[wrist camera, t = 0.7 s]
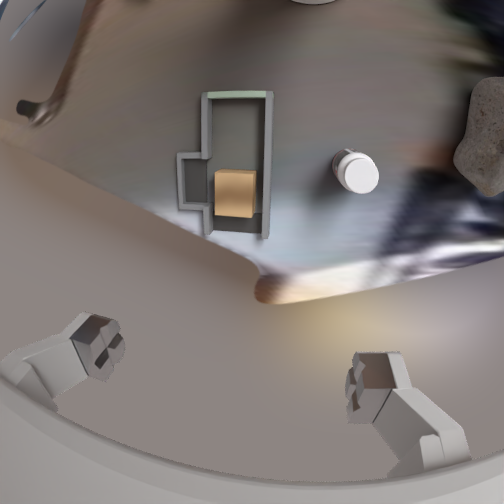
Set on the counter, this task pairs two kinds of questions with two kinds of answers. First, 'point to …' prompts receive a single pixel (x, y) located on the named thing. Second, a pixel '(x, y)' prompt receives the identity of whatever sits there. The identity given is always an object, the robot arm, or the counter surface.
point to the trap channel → (195, 170)
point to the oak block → (235, 192)
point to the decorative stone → (484, 138)
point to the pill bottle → (355, 171)
